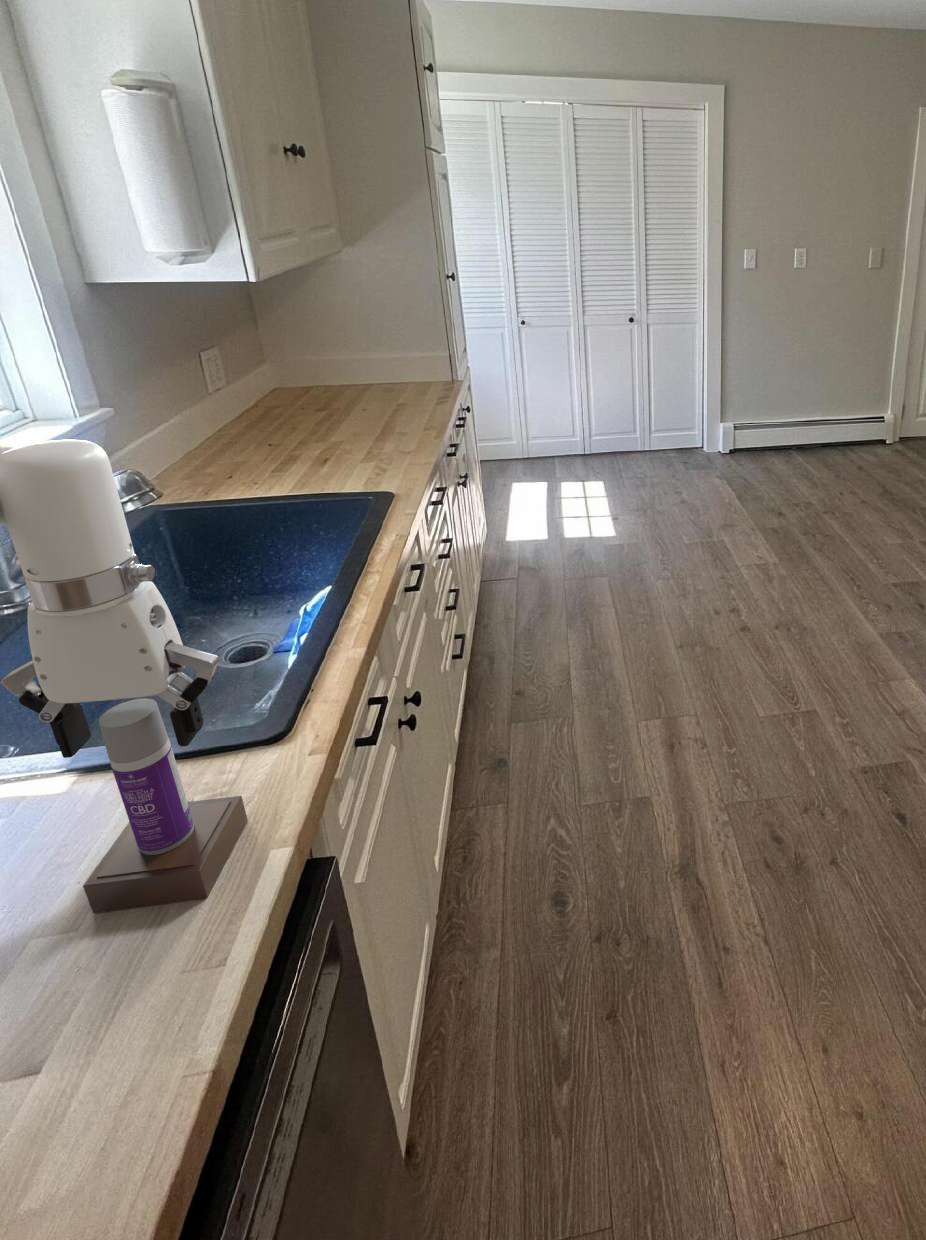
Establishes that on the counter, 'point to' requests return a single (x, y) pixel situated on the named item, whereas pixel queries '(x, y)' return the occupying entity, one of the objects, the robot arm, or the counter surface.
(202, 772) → the counter surface
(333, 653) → the counter surface
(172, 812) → the container
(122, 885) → the riser
